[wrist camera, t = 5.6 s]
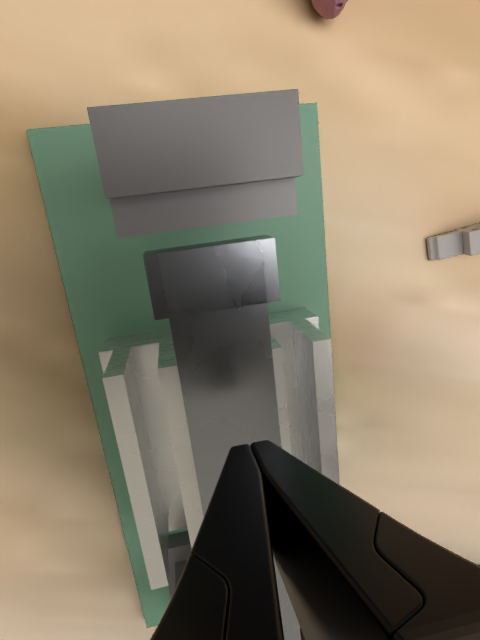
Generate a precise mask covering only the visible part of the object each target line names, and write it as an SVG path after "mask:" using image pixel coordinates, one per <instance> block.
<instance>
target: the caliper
mask: <svg viewBox="0 0 480 640" xmlns="http://www.w3.org/2000/svg"><path fill="white" fill-rule="evenodd" d="M427 247H428V256H429V261H433V260H441V259H445V258H450V257H454V256H458V255H462V254H465V255H470V256H472V255H476V254H480V223H477V224H473V225H470V226H466V227H463V228H459V229H456V230H455V231H452V232H448V233H444V234H440V235H435V236H432V237H428V238H427Z"/></svg>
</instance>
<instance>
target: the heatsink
mask: <svg viewBox="0 0 480 640" xmlns="http://www.w3.org/2000/svg"><path fill="white" fill-rule="evenodd" d="M268 315H269V325H270V335H271V345H272V355H273V365H274V375H275V385H276V395H277V405H278V415H279V425H280V435H281V445H282V449H284V450H285V451H287V452H289V453H290V454H292V455H293V456H295V457H296V458H298V459H300V460H301V461H303V462H304V463H306V464H308V465H309V466H311V467H312V468H314V469H315V470H317V471H319V472H320V473H322V474H323V475H325V476H327V477H328V478H330V479H331V480H333V481H334V482H336V483H338V484H339V468H338V451H337V434H336V417H335V400H334V384H333V367H332V350H331V339H330V338H329V337H328V336H327V335H325V334H324V333H323V332H322V331H320V330H319V321H318V316H317V315H315V314H314V313H313V312H311V311H310V310H308V309H307V308H306V307H304V308H298V309H292V310H285V311H279V312H273V313H268ZM99 356H100V361H101V365H102V369H103V374H104V375H103V378H102V379H103V384H104V388H105V392H106V397H107V401H108V405H109V410H110V414H111V418H112V423H113V427H114V431H115V436H116V440H117V444H118V449H119V453H120V457H121V462H122V466H123V470H124V475H125V479H126V483H127V487H128V492H129V496H130V500H131V505H132V509H133V513H134V518H135V522H136V526H137V531H138V535H139V539H140V544H141V548H142V552H143V557H144V561H145V565H146V570H147V574H148V578H149V583H150V587H151V590H153V589H157V588H161V587H165V586H169V531H174V530H178V529H183V528H188V533H189V538H190V544H191V549H192V547H193V544H194V542H195V539H196V536H197V534H198V531H199V529H200V526H201V523H202V521H203V518H204V516H203V511H202V505H201V499H200V493H199V488H198V482H197V476H196V470H195V465H194V459H193V453H192V447H191V442H190V436H189V430H188V424H187V419H186V413H185V407H184V401H183V396H182V390H181V384H180V378H179V373H178V367H177V361H176V355H175V350H174V344H173V338H172V332H171V329H167V330H161V331H155V332H149V333H142V334H136V335H130V336H124V337H118V338H111V339H105V341H104V343H103V345H102V347H101V349H100V351H99Z"/></svg>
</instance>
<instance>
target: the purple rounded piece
mask: <svg viewBox="0 0 480 640" xmlns="http://www.w3.org/2000/svg"><path fill="white" fill-rule="evenodd" d="M311 2H312V5H313V7H314V9H315V10H316V12H318V13H319V14H320V15H321V16H322V17H323V18H325V19H333V18H335V17H336V16H338V15H339V13H340V12H341V11H342V9H343V8H344V6H345V4H346V2H347V0H311Z"/></svg>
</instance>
